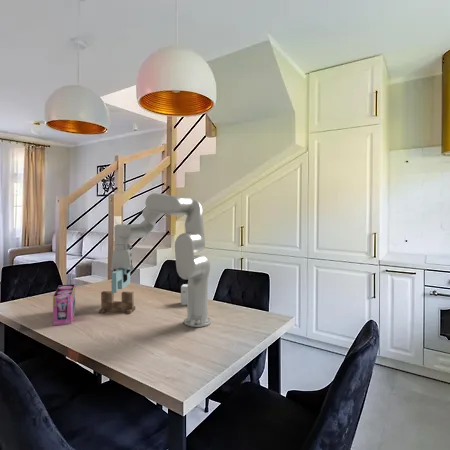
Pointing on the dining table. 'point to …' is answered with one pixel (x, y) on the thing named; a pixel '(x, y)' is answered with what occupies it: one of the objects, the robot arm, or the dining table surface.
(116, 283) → the notched board
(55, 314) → the gum box
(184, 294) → the small box
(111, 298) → the notched wall
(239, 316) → the dining table surface
